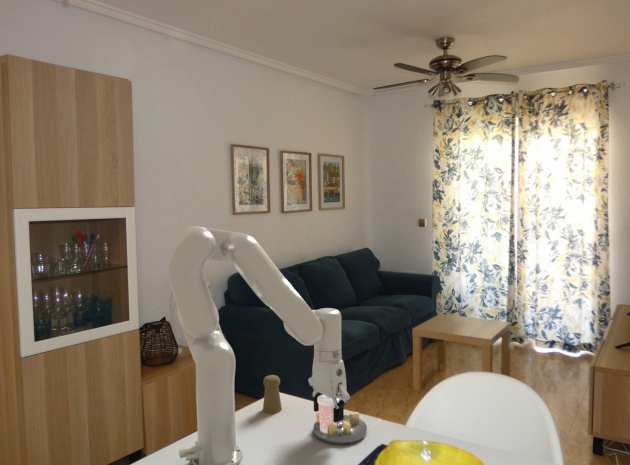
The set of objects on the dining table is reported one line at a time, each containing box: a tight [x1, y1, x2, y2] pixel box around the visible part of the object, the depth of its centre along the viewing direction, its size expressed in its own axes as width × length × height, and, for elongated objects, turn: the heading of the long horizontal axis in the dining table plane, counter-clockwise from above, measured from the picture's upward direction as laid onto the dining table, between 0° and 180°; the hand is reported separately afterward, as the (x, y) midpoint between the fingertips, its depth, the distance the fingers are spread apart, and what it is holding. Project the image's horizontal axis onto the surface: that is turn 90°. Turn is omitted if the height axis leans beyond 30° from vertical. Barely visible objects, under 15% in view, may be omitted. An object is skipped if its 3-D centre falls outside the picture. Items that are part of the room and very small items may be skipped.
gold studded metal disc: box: [313, 411, 368, 446], centre depth 144 cm, size 15×15×5 cm
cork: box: [262, 374, 283, 415], centre depth 159 cm, size 6×6×11 cm
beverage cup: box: [317, 394, 340, 433], centre depth 142 cm, size 6×6×14 cm
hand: (328, 415), depth 141 cm, fingers open, 8 cm apart
